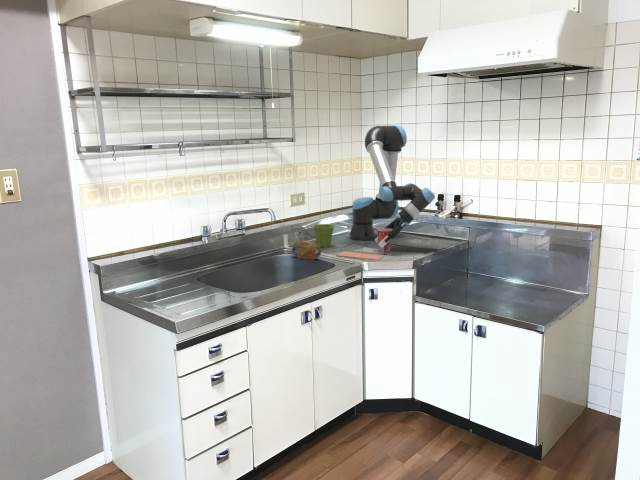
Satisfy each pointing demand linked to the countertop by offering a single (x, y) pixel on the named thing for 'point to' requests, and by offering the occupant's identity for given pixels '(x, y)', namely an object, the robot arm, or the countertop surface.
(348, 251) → the pink thin bar
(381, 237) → the cup
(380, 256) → the mat
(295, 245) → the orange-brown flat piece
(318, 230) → the plant pot
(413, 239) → the countertop surface
